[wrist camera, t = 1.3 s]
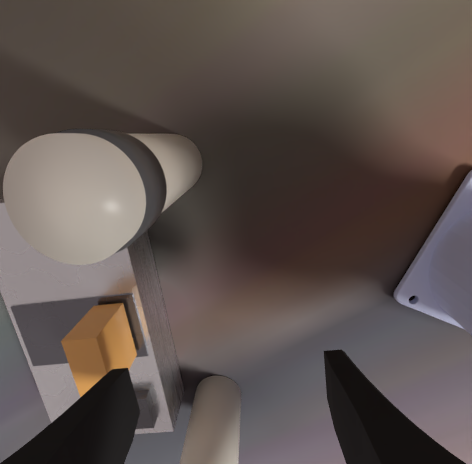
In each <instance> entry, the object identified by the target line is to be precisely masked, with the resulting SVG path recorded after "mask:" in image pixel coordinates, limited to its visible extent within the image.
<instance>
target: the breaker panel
mask: <svg viewBox="0 0 472 464" xmlns="http://www.w3.org/2000/svg"><path fill="white" fill-rule="evenodd" d="M0 292H1V294H2V297H3V299H4V302H5V304H6V307H7V310H8V312H9V315H10V317H11V320H12V322H13V325H14V328H15V330H16V333H17V335H18V338H19V340H20V343H21V346H22V348H23V351H24V353H25V356H26V358H27V361H28V364H29V366H30V369H31V371H32V374H33V376H34V379H35V382H36V384H37V387H38V389H39V392H40V394H41V397H42V400H43V402H44V405H45V407H46V410H47V412H48V415H49V418H50V420H51V423H52V422H53V421H54V420H56V419H57V418H58V417H59V416H60V415H61V414H63V413H64V412H65V411H66V410H67V409H68V408H69V407H70V406H72V405H73V404H74V403H75V402H76V401H77V400H78V399H79V398H80V395H79V392H78V389H77V386H76V383H75V380H74V378H73V375H72V372H71V369H70V366H69V363H68V360H67V357H66V354H65V351H64V349H63V346H62V343H61V341H62V340H63V338H64V337H65V336H66V335H67V334H68V333H69V332H70V331H71V330H72V329H73V328H74V327H75V325H76V324H77V323H78V322H79V321H80V320H81V319H82V318H83V317H84V316H85V315H86V314H87V313H88V311H89V310H90V309H91V308H92V307H93V306H97V305H107V304H116V303H123V305H124V308H125V312H126V316H127V319H128V323H129V327H130V330H131V334H132V338H133V341H134V345H135V349H136V353H137V356H136V358H135V360H134V361H133V363H132V365H131V367H130V369H129V374H130V377H131V381H132V384H133V388H134V391H135V395H136V398H137V402H138V405H139V409H140V415H139V419H138V423H137V427H136V430H135V434H142V433H157V432H173V431H174V428H175V424H176V421H177V417H178V413H179V409H180V406H181V402H182V398H183V394H184V387H183V383H182V378H181V374H180V369H179V365H178V361H177V356H176V352H175V348H174V343H173V339H172V335H171V330H170V326H169V322H168V317H167V313H166V308H165V304H164V300H163V295H162V291H161V287H160V282H159V278H158V274H157V269H156V265H155V260H154V256H153V252H152V247H151V243H150V239H149V234H148V230H146V231H145V232H144V233H143V234H142V235H141V236H140V237H139V238H137V239H136V240H135V241H134V242H133V243H132V244H131V245H130V246H128V247H127V248H125V249H123V250H121V251H119V252H117V253H114V254H113V255H111V256H110V257H108V258H106V259H104V260H102V261H99V262H96V263H92V264H86V265H74V264H67V263H62V262H59V261H56V260H53V259H51V258H49V257H47V256H45V255H43V254H41V253H40V252H38V251H37V250H36V249H34V248H33V247H32V246H31V245H29V244H28V243H27V242H26V241H25V240H24V239H23V237H22V236H21V235H20V234H19V233H18V231H17V230H16V228H15V227H14V225H13V223H12V221H11V220H10V217H9V215H8V213H7V210H6V206H5V202H4V199H0Z"/></svg>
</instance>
